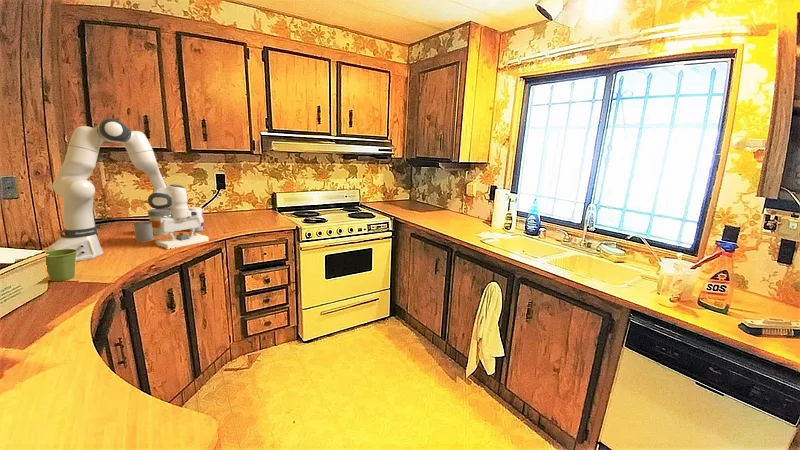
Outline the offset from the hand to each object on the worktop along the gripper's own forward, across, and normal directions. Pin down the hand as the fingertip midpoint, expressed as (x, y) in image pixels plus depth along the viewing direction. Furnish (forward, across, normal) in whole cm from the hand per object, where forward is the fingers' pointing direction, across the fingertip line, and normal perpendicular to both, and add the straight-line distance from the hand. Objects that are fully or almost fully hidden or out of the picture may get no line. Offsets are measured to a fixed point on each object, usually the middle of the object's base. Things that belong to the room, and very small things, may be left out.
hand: (182, 237), depth 202 cm
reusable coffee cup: (+3, +3, +32) cm, 32 cm away
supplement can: (+3, +20, +24) cm, 31 cm away
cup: (+3, -10, +24) cm, 26 cm away
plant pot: (+3, -56, -18) cm, 59 cm away
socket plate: (+3, 0, 0) cm, 3 cm away
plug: (+3, 0, 0) cm, 3 cm away
